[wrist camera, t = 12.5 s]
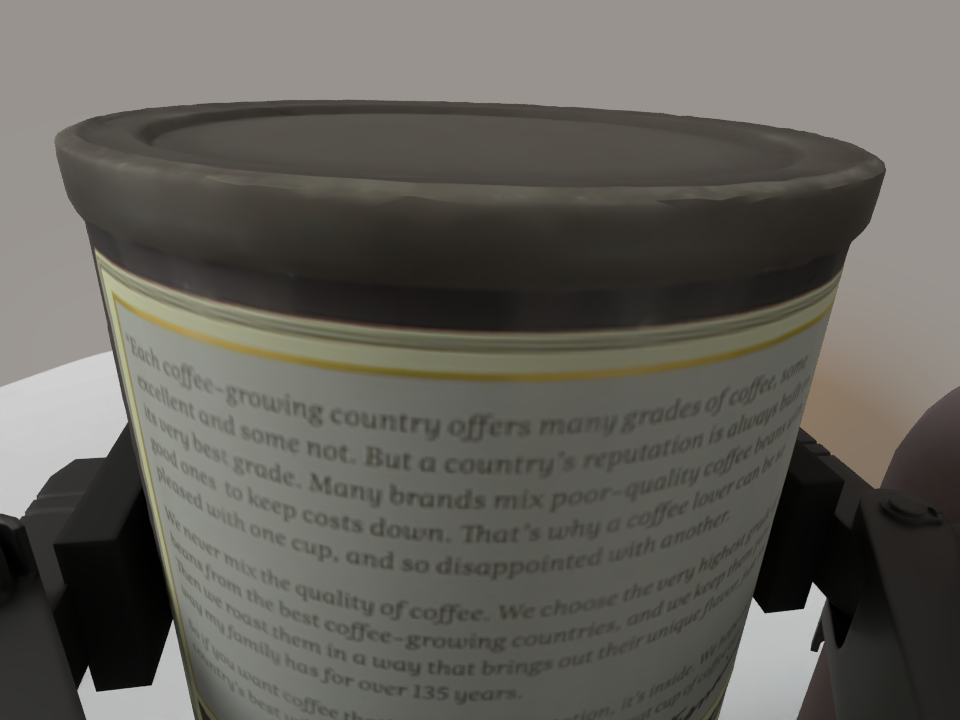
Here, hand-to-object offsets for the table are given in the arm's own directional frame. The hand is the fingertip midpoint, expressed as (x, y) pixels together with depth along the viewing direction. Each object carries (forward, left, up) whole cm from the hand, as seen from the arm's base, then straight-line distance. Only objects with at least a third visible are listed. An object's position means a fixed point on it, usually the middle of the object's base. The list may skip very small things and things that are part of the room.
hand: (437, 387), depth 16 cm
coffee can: (+2, -4, -8) cm, 9 cm away
